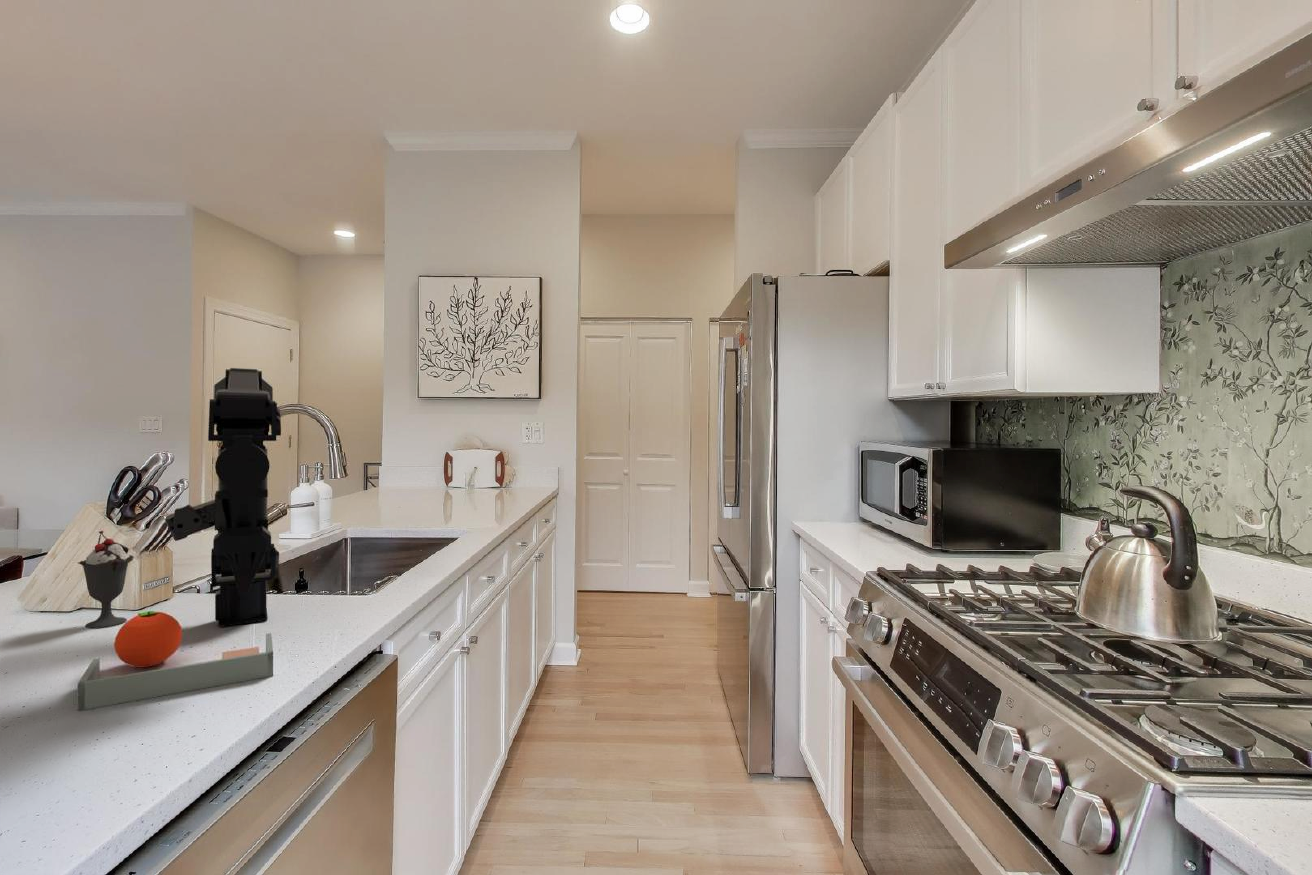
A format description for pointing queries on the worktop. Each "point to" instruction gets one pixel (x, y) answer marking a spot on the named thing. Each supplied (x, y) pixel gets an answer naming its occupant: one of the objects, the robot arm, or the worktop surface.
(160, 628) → the clementine
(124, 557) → the sundae
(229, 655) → the tile
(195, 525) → the robot arm
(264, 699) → the worktop surface
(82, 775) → the worktop surface
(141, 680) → the tray
